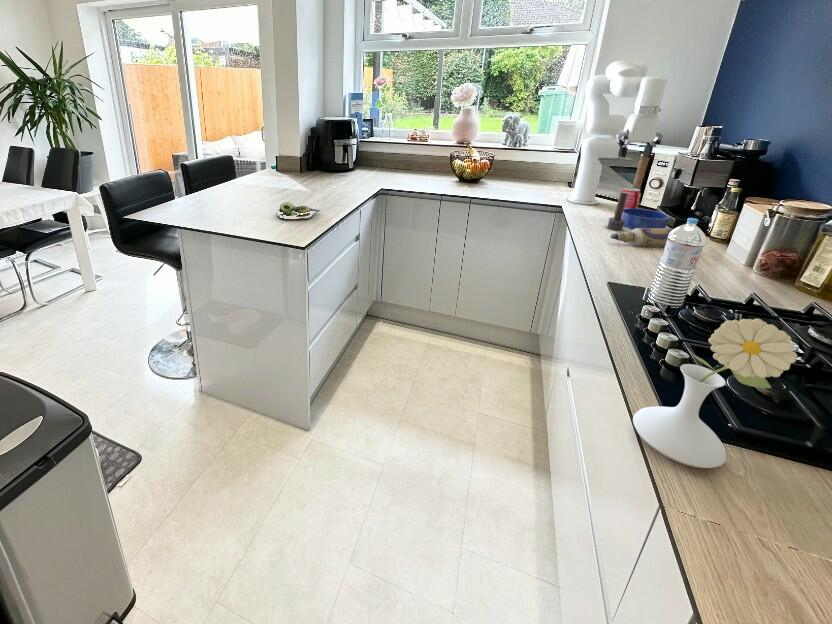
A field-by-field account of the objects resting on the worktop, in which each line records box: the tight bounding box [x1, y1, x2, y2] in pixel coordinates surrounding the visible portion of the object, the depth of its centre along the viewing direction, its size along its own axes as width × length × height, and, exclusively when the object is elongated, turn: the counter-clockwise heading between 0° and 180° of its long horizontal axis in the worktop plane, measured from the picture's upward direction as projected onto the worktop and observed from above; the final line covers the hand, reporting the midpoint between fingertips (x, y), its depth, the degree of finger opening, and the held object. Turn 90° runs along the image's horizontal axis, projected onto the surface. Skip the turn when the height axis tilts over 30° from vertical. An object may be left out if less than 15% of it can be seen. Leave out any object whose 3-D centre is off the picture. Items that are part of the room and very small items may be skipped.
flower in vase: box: [632, 318, 798, 469], centre depth 59 cm, size 13×11×25 cm
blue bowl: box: [621, 207, 670, 230], centre depth 164 cm, size 15×15×6 cm
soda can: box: [621, 187, 642, 209], centre depth 176 cm, size 7×7×12 cm
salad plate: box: [276, 201, 321, 220], centre depth 182 cm, size 19×18×5 cm
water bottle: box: [646, 217, 707, 308], centre depth 98 cm, size 7×7×25 cm
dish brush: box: [606, 191, 628, 232], centre depth 159 cm, size 5×5×15 cm
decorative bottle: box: [609, 227, 674, 248], centre depth 143 cm, size 26×8×7 cm, turn 82°
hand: (633, 157), depth 156 cm, fingers open, 9 cm apart
